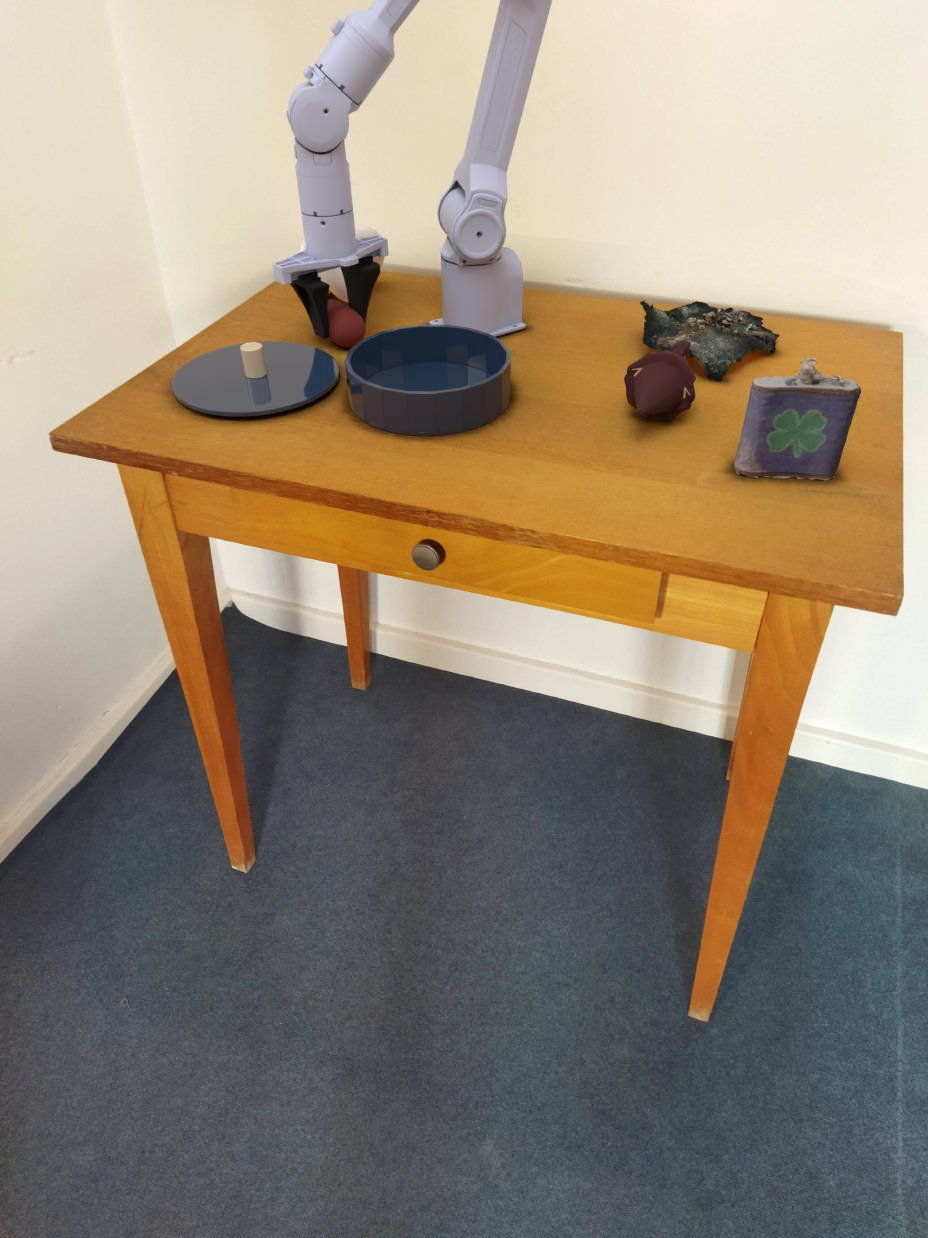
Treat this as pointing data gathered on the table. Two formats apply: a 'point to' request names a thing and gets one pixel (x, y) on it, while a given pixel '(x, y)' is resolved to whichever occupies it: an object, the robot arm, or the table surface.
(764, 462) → the flask
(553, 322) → the table surface
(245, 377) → the lid
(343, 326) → the sweet potato
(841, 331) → the table surface
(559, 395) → the table surface
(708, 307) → the decorative rock
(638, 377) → the dark maroon rounded piece
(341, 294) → the white twisted tube
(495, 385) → the dark blue bowl
